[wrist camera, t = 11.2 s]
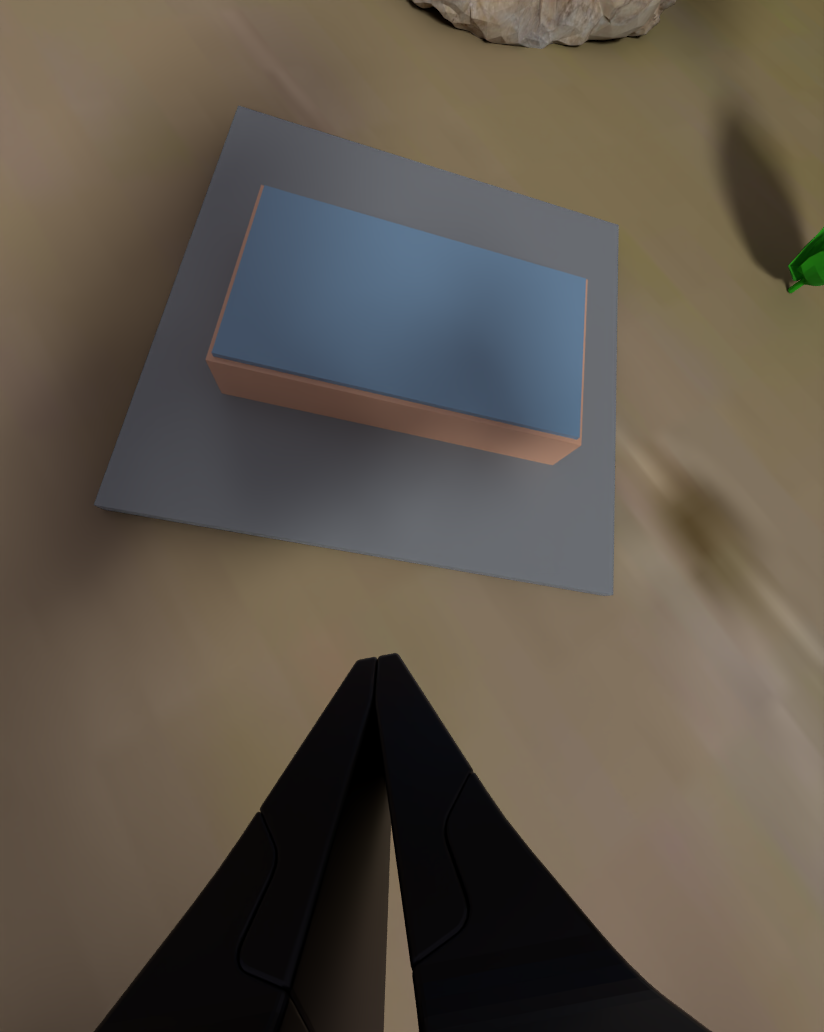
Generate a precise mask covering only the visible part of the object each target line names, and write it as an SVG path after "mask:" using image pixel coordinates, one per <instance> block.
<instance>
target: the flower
mask: <svg viewBox="0 0 824 1032" xmlns="http://www.w3.org/2000/svg"><path fill="white" fill-rule="evenodd" d="M788 267H789V270H790V273H791V276H792V279H793V281H798V280H800V281H798V282H797V283H795V284H794V285H793V286H791V287H790V288H788V292H789V293H793V292H794V291H795V290H797V289H798V288H800V287H801V286H802V285H804V284H805V285H812V286H821V285H824V227H823V229H822V230H821V231H820V232H819V233H818V234H817V235H816V236H815V237H814V238H813V239H812V240H811V241H810V242H809V243H808V244H807V245H806V246H805V247H804V248H803V249H802V251H801V252H800V253H799V254H798V255H797V257H796V258H795V259H794V260H793V261H792V262H791V263H790V264H789V265H788Z"/></svg>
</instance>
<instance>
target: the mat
mask: <svg viewBox="0 0 824 1032" xmlns="http://www.w3.org/2000/svg"><path fill="white" fill-rule="evenodd" d="M261 185H263V186H264V185H266V186H269V187H273V188H276V189H279V190H283V191H286V192H290V193H293V194H297V195H300V196H304V197H307V198H310V199H314V200H317V201H321V202H324V203H328V204H331V205H335V206H338V207H341V208H345V209H348V210H352V211H355V212H359V213H362V214H366V215H369V216H372V217H376V218H379V219H383V220H386V221H390V222H393V223H396V224H400V225H403V226H407V227H410V228H414V229H417V230H421V231H424V232H427V233H431V234H434V235H438V236H441V237H445V238H448V239H452V240H455V241H458V242H462V243H465V244H469V245H472V246H476V247H479V248H482V249H486V250H489V251H493V252H496V253H500V254H503V255H507V256H510V257H513V258H517V259H520V260H524V261H527V262H531V263H534V264H538V265H541V266H544V267H548V268H551V269H555V270H558V271H562V272H565V273H569V274H572V275H575V276H579V277H582V278H586V279H587V280H588V285H587V311H586V337H585V363H584V389H583V415H582V441H581V446H580V447H578V448H577V449H575V450H574V451H573V452H571V453H570V454H568V455H567V456H565V457H564V458H562V459H561V460H560V461H558V462H557V463H555V464H554V465H549V464H544V463H540V462H535V461H530V460H526V459H521V458H517V457H512V456H507V455H503V454H498V453H494V452H489V451H484V450H480V449H475V448H471V447H466V446H462V445H457V444H452V443H448V442H443V441H439V440H434V439H429V438H425V437H420V436H416V435H411V434H406V433H402V432H397V431H393V430H388V429H383V428H379V427H374V426H370V425H365V424H360V423H356V422H351V421H347V420H342V419H337V418H333V417H328V416H324V415H319V414H315V413H310V412H305V411H301V410H296V409H292V408H287V407H282V406H278V405H273V404H269V403H264V402H259V401H255V400H250V399H246V398H241V397H236V396H232V395H227V394H223V393H221V391H220V389H219V387H218V385H217V383H216V381H215V379H214V377H213V374H212V372H211V370H210V368H209V366H208V364H207V362H206V356H207V353H208V350H209V347H210V344H211V341H212V338H213V334H214V331H215V328H216V325H217V322H218V319H219V316H220V312H221V309H222V306H223V303H224V300H225V297H226V294H227V290H228V287H229V284H230V281H231V278H232V275H233V272H234V268H235V265H236V262H237V259H238V256H239V253H240V250H241V246H242V243H243V240H244V237H245V234H246V231H247V228H248V225H249V221H250V218H251V215H252V212H253V209H254V206H255V203H256V199H257V196H258V193H259V190H260V187H261ZM618 226H619V225H617V224H613V223H610V222H607V221H604V220H601V219H597V218H594V217H591V216H588V215H585V214H582V213H578V212H575V211H572V210H569V209H566V208H563V207H559V206H556V205H553V204H550V203H547V202H543V201H540V200H537V199H534V198H531V197H528V196H524V195H521V194H518V193H515V192H512V191H508V190H505V189H502V188H499V187H496V186H493V185H489V184H486V183H483V182H480V181H477V180H474V179H470V178H467V177H464V176H461V175H458V174H454V173H451V172H448V171H445V170H442V169H439V168H435V167H432V166H429V165H426V164H423V163H419V162H416V161H413V160H410V159H407V158H404V157H400V156H397V155H394V154H391V153H388V152H385V151H381V150H378V149H375V148H372V147H369V146H365V145H362V144H359V143H356V142H353V141H350V140H346V139H343V138H340V137H337V136H334V135H330V134H327V133H324V132H321V131H318V130H315V129H311V128H308V127H305V126H302V125H299V124H295V123H292V122H289V121H286V120H283V119H280V118H276V117H273V116H270V115H267V114H264V113H261V112H257V111H254V110H251V109H248V108H245V107H241V106H238V108H237V111H236V113H235V116H234V119H233V122H232V124H231V127H230V130H229V133H228V135H227V138H226V141H225V144H224V146H223V149H222V152H221V155H220V158H219V160H218V163H217V166H216V169H215V171H214V174H213V177H212V180H211V182H210V185H209V188H208V191H207V193H206V196H205V199H204V202H203V204H202V207H201V210H200V213H199V216H198V218H197V221H196V224H195V227H194V229H193V232H192V235H191V238H190V240H189V243H188V246H187V249H186V251H185V254H184V257H183V260H182V262H181V265H180V268H179V271H178V274H177V276H176V279H175V282H174V285H173V287H172V290H171V293H170V296H169V298H168V301H167V304H166V307H165V309H164V312H163V315H162V318H161V320H160V323H159V326H158V329H157V332H156V334H155V337H154V340H153V343H152V345H151V348H150V351H149V354H148V356H147V359H146V362H145V365H144V367H143V370H142V373H141V376H140V378H139V381H138V384H137V387H136V389H135V392H134V395H133V398H132V401H131V403H130V406H129V409H128V412H127V414H126V417H125V420H124V423H123V425H122V428H121V431H120V434H119V436H118V439H117V442H116V445H115V447H114V450H113V453H112V456H111V459H110V461H109V464H108V467H107V470H106V472H105V475H104V478H103V481H102V483H101V486H100V489H99V492H98V494H97V497H96V500H95V503H94V505H95V506H97V507H99V508H101V509H104V510H110V511H116V512H121V513H127V514H133V515H139V516H145V517H150V518H156V519H162V520H168V521H173V522H179V523H185V524H191V525H197V526H202V527H208V528H214V529H220V530H226V531H231V532H237V533H243V534H249V535H255V536H260V537H266V538H272V539H278V540H284V541H289V542H295V543H301V544H307V545H313V546H318V547H324V548H330V549H336V550H342V551H347V552H353V553H359V554H365V555H371V556H376V557H382V558H388V559H394V560H399V561H405V562H411V563H417V564H423V565H428V566H434V567H440V568H446V569H452V570H457V571H463V572H469V573H475V574H481V575H486V576H492V577H498V578H504V579H510V580H515V581H521V582H527V583H533V584H539V585H544V586H550V587H556V588H562V589H568V590H573V591H579V592H585V593H591V594H597V595H602V596H608V595H613V567H614V498H615V430H616V362H617V294H618Z"/></svg>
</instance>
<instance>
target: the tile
mask: <svg viewBox="0 0 824 1032" xmlns="http://www.w3.org/2000/svg"><path fill="white" fill-rule="evenodd" d="M587 285H588V280H587V279H586V278H582V277H579V276H575V275H572V274H569V273H565V272H562V271H558V270H555V269H551V268H548V267H544V266H541V265H538V264H534V263H531V262H527V261H524V260H520V259H517V258H513V257H510V256H507V255H503V254H500V253H496V252H493V251H489V250H486V249H482V248H479V247H476V246H472V245H469V244H465V243H462V242H458V241H455V240H452V239H448V238H445V237H441V236H438V235H434V234H431V233H427V232H424V231H421V230H417V229H414V228H410V227H407V226H403V225H400V224H396V223H393V222H390V221H386V220H383V219H379V218H376V217H372V216H369V215H366V214H362V213H359V212H355V211H352V210H348V209H345V208H341V207H338V206H335V205H331V204H328V203H324V202H321V201H317V200H314V199H310V198H307V197H304V196H300V195H297V194H293V193H290V192H286V191H283V190H279V189H276V188H273V187H269V186H266V185H264V186H263V185H261V187H260V190H259V193H258V196H257V199H256V203H255V206H254V209H253V212H252V215H251V218H250V221H249V225H248V228H247V231H246V234H245V237H244V240H243V243H242V246H241V250H240V253H239V256H238V259H237V262H236V265H235V268H234V272H233V275H232V278H231V281H230V284H229V287H228V290H227V294H226V297H225V300H224V303H223V306H222V309H221V312H220V316H219V319H218V322H217V325H216V328H215V331H214V334H213V338H212V341H211V344H210V347H209V350H208V353H207V356H206V362H207V364H208V366H209V368H210V370H211V372H212V374H213V377H214V379H215V381H216V383H217V385H218V387H219V389H220V391H221V393H223V394H227V395H232V396H236V397H241V398H246V399H250V400H255V401H259V402H264V403H269V404H273V405H278V406H282V407H287V408H292V409H296V410H301V411H305V412H310V413H315V414H319V415H324V416H328V417H333V418H337V419H342V420H347V421H351V422H356V423H360V424H365V425H370V426H374V427H379V428H383V429H388V430H393V431H397V432H402V433H406V434H411V435H416V436H420V437H425V438H429V439H434V440H439V441H443V442H448V443H452V444H457V445H462V446H466V447H471V448H475V449H480V450H484V451H489V452H494V453H498V454H503V455H507V456H512V457H517V458H521V459H526V460H530V461H535V462H540V463H544V464H549V465H554V464H555V463H557V462H558V461H560V460H561V459H562V458H564V457H565V456H567V455H568V454H570V453H571V452H573V451H574V450H575V449H577V448H578V447H580V446H581V441H582V415H583V389H584V363H585V337H586V311H587Z"/></svg>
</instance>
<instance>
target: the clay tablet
mask: <svg viewBox="0 0 824 1032" xmlns="http://www.w3.org/2000/svg"><path fill="white" fill-rule="evenodd" d="M412 1H413V2H414V3H415V4H416V5H417V6H419V7H421V8H430V7H432V6H434V7H435V8H437V9H438V10H439V11H440V13H441V14H442V15H443V17H444V18H446V19H447V20H449V21H450V22H452V24H453V25H454V26H455V27H456V28H459V29H463V30H467V31H470V32H471V33H472V34H474V35H475V36H477V37H478V38H483V39H486V40H487V41H489V42H492V43H499V44H508V45H519V46H526V47H532V48H540V49H542V48H544V47H546V46H547V45H549V44H553V43H557V44H562V45H582V44H583V43H584V42H585V41H587V40H608V39H614V38H621V37H627V36H639V35H646V33H647V32H648V31H649V30H650V29H651V28H653V27H654V26H655V25H656V24H657V23H658V22H659V21H660V14H661V13H662V12H663V11H664V10H665V9H666V8H668V7H670V6H672V5H673V4H675V1H676V0H412Z"/></svg>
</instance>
